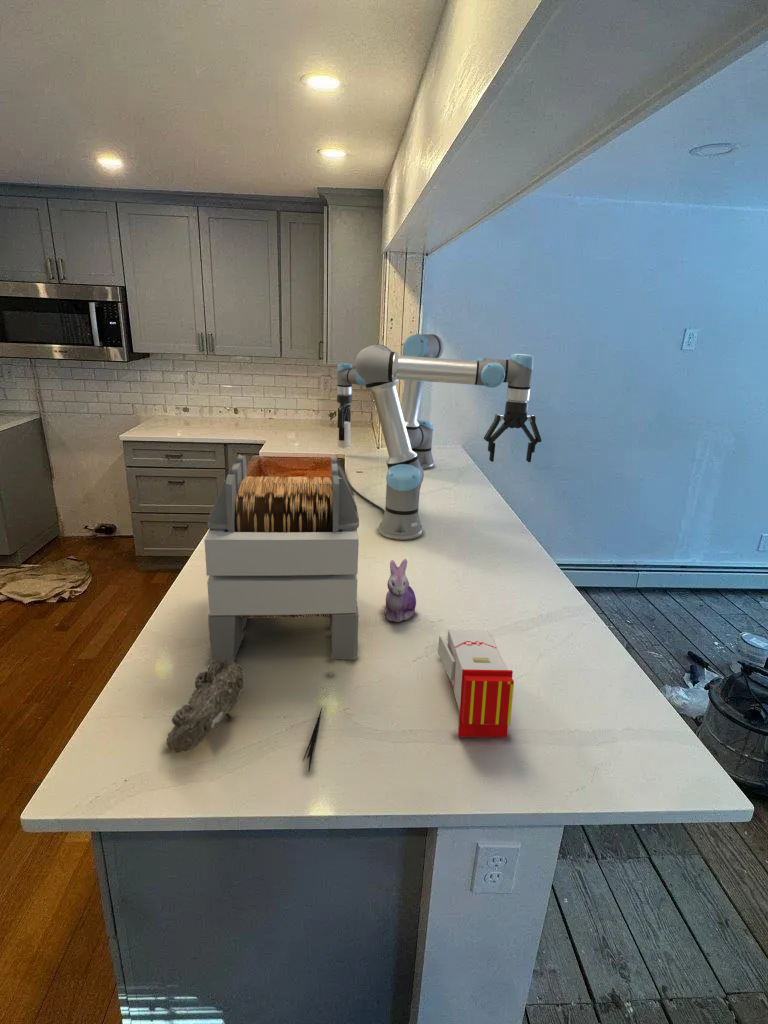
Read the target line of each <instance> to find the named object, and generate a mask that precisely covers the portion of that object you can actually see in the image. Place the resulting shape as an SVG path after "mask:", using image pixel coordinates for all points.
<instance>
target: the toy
mask: <svg viewBox="0 0 768 1024" xmlns="http://www.w3.org/2000/svg"><path fill="white" fill-rule="evenodd" d="M446 640H447V643H446V641H445V639H444V636H443V635H442V634H439V637H438V646H437V656H438V657H439V659H440V661H441V663H442V666H443V668H444V670H445V672H446V674H447V677H448V679H449V681H450V684H451V687H452V690H453V693H454V697H455V701H456V705H457V708H458V711H459V714H458V715H459V716H458V730H457V731H458V732H457V737H458V738H508V731H509V726H510V725H511V717H512V707H513V697H514V696H513V695H514V684H515V680H514V679H513V673H514V671H513V670H512V669H508V667H507V665H506V662H505V661H504V659H503V658H502V655H501V653H500V651H499V649H498V647H497V643H496V639H495V637H494V635H493V634H491V632H490V631H489V629H467V628H466V629H465V628H463V629H461V628H460V629H459V628H448V630H447V639H446Z"/></svg>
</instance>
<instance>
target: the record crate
mask: <svg viewBox="0 0 768 1024" xmlns="http://www.w3.org/2000/svg"><path fill="white" fill-rule="evenodd" d="M339 460H340V459H339V458H338V456H337V455H331V456H330V476H324V477H321V476H314V477H312V478H309V477H308V476H286V477H284V476H283V477H282V476H281V477H280V476H263V475H261V476H254V475H253V476H250V475H248V472H247V458H246V455H245V454H244V455H241V454H238V455H237V456H236V459H235V460H234V462H232V463H233V464H232V467H231V468H230V470H229V474H227V475H226V477H225V480H224V482H223V484H222V486H221V488H220V490H219V493H218V496H217V498H216V500H215V502H214V504H213V506H212V508H211V511H210V513H209V515H208V517H207V521H206V522H207V523H206V524H207V528H208V531H207V533H206V535H205V537H204V554H205V556H204V557H205V569H206V570H205V571H206V576H208V579H207V583H206V584H207V597H208V610H209V611H208V615H207V622H208V637H209V638H208V639H209V644H210V657H211V658H210V659H209V660H210V662H211V661H212V660H217V661H222V662H223V661H224V660H227V659H228V660H231V659H232V660H234V661H235V659H236V656H237V654H238V651H239V649H240V646H241V643H242V640H243V638H244V631H243V629H245V628H246V626H247V620H248V619H250V618H251V619H257V618H258V619H261V618H262V619H264V618H265V619H267V618H272V619H273V618H305V617H306V618H312V617H315V618H320V617H321V618H322V617H324V618H325V617H329V620H330V621H329V622H330V623H329V625H330V647H331V648H330V649H331V650H330V651H331V660H351V661H354V660H355V659H356V658H358V653H359V652H358V650H359V607H358V571H359V570H358V567H359V545H360V543H359V540H360V539H359V534H358V533H359V532H358V529H359V527H360V517H359V512H358V506H357V502H356V497H355V496H356V495H355V492H354V491H353V490H352V488H351V486H352V485H351V483H350V481H349V479H348V477H347V474H346V472H345V473H344V471H343V469H342V467H341V464H340V462H339ZM345 474H346V475H345ZM247 475H248V476H247ZM347 479H348V480H347ZM348 481H349V482H348ZM349 483H350V484H349ZM350 485H351V486H350Z"/></svg>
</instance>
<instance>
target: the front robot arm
mask: <svg viewBox="0 0 768 1024" xmlns="http://www.w3.org/2000/svg"><path fill="white" fill-rule="evenodd" d="M400 355H401V354H399V353H398V352H397V351H392V350H391V349H390V348H389V347H388V346H387V345H384V344H381V343H376V344H371V345H368V346H366V347H365V348H363V349H361V350H360V351H359V352H358V354H357V355H356V358H355V369H356V370H357V373H358V374H359V376H360V377H361V378H362V379H364V381H365V385H366V386H365V388H366V390H368V391H370V392H371V394H372V398H373V402H374V405H375V409H376V412H377V416H378V417H377V418H378V422H379V424H380V427H381V433H382V435H383V439H384V442H385V447H386V450H387V454H388V457H387V459H386V462H385V463H386V466H387V471H386V475H385V482H386V486H385V487H386V488H385V504H384V505H385V507H384V508H385V509H383V507H381V506H380V505H378V504H376V503H374V502H373V501H371V500H369V499H368V498H366V497H365V496H364V495H362V494H361V493H360V492H358V491H357V489H355V488H354V487H353V486H352V484H351V483H350V481H349V479H348V478H347V480H348V482H349V484H350V486H351V488H352V490H353V493H354V494H356V495H357V496H358V497H359V498H361V499H362V500H364V501H365V502H366V503H368V504H369V505H371V506H373V507H375V508H377V509H378V510H379V511H381V513H382V514H383V515H382V519H381V522H379V525H378V533H379V534H380V535H381V536H382V537H385V538H387V539H389V540H395V541H410V540H415V539H418V538H420V537H421V536H422V535H423V525H422V524H421V518H420V515H419V507H420V506H419V505H420V504H419V503H420V494H421V493H420V492H421V487H422V483H423V481H424V476H425V475H424V469H423V468H422V466H421V465H420V463H419V459H418V456H417V453H415V452H414V451H412V449H411V445H410V441H409V437H408V433H407V429H406V425H405V422H404V418H403V414H402V410H401V402H400V398H399V394H398V391H397V383H398V381H399V380H400V381H401V380H402V381H405V380H413V381H424V382H429V383H441V384H442V383H443V384H459V385H470V386H471V385H473V386H482V387H484V386H485V387H487V388H492V389H493V388H497V387H500V386H501V385H502V384H503V383H507V390H506V401H505V407H504V414H503V415H502V414H499V413H495V414H494V419H493V421H492V423H491V425H490V426H489V428H488V430H487V431H486V433H485V434H484V436H483V441H485V442H488V443H487V451H488V452H489V458H488V460H489V461H490V462H492V463H493V462H495V461H494V460H495V452H496V443H495V441H497V440H498V439H499V437H500V436H502V434H503V433H504V432H505V431H506V430H508V429H520V428H521V430H522V431H523V432H524V434H525V436H526V437H527V438H528V440H529V441H530V442H528V443H527V450H526V451H527V452H526V457H525V460H526V462H528V463H532V457H533V453H535V452H536V445H537V444H538V443H541V442H542V440H543V439H542V437H541V434H540V432H539V428H538V426H537V423H536V420H537V419H536V416H535V415H533V414H530V415H528V409H529V402H528V401H530V393H531V385H532V378H533V371H534V356H533V355H532V354H527V353H513V354H511V356H510V359H500V358H499V359H498V358H486V357H484V358H479V357H478V358H475V360H469V359H456V358H455V359H454V358H443V357H442V358H441V357H439V358H428V357H414V356H400ZM502 420H503V422H502ZM527 421H528V422H529V425H530V427H531V429H532V433H533V434H532V433H531V432H530V430H529V429H528V427H527V425H526V424H525V423H526V422H527ZM500 422H502V423H501V426H500V427H498V426H499V424H500ZM497 427H498V428H497ZM496 429H497V430H496ZM338 460H339V462H340V464H341V467H342V469H343V471H344V473H345V475H346V476H347V474H346V470H345V467H344V464H343V462H342V461H341V459H338Z"/></svg>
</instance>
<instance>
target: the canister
mask: <svg viewBox="0 0 768 1024" xmlns="http://www.w3.org/2000/svg"><path fill="white" fill-rule="evenodd" d="M350 424H351V421H350V422H347V421H344V441H341V440H339V428H337V442H336V443H337V444H336V445H337V448H341V449H348V448H350V447H351V425H350Z"/></svg>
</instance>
